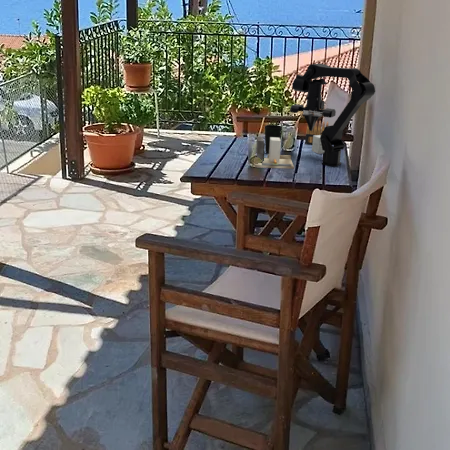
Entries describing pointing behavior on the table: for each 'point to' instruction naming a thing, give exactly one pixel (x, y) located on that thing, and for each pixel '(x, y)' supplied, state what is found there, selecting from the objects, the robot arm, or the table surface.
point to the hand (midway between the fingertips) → (310, 130)
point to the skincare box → (317, 145)
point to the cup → (271, 134)
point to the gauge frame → (283, 163)
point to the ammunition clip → (310, 134)
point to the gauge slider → (274, 149)
